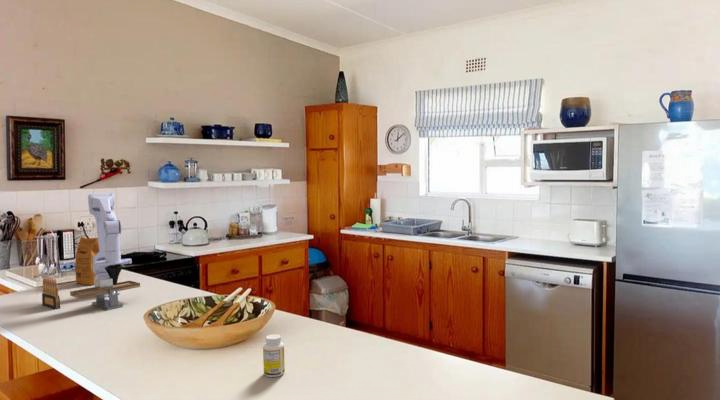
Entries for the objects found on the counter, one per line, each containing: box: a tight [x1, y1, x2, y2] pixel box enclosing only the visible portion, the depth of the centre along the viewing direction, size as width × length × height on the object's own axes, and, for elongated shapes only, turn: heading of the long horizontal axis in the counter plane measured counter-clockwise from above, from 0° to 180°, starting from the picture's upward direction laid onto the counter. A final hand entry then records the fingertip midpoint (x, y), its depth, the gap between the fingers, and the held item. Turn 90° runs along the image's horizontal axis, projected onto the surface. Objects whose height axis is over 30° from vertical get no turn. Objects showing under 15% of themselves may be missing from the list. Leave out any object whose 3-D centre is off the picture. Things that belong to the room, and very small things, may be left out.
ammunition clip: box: [41, 275, 61, 310], centre depth 208 cm, size 11×2×12 cm, turn 56°
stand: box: [91, 289, 124, 311], centre depth 208 cm, size 13×6×8 cm, turn 52°
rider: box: [95, 277, 113, 290], centre depth 208 cm, size 4×5×4 cm
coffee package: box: [74, 236, 102, 286], centre depth 248 cm, size 10×12×22 cm
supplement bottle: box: [262, 333, 286, 378], centre depth 140 cm, size 6×6×10 cm
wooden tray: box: [69, 280, 141, 300], centre depth 208 cm, size 9×24×2 cm, turn 142°
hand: (114, 283), depth 211 cm, fingers closed
